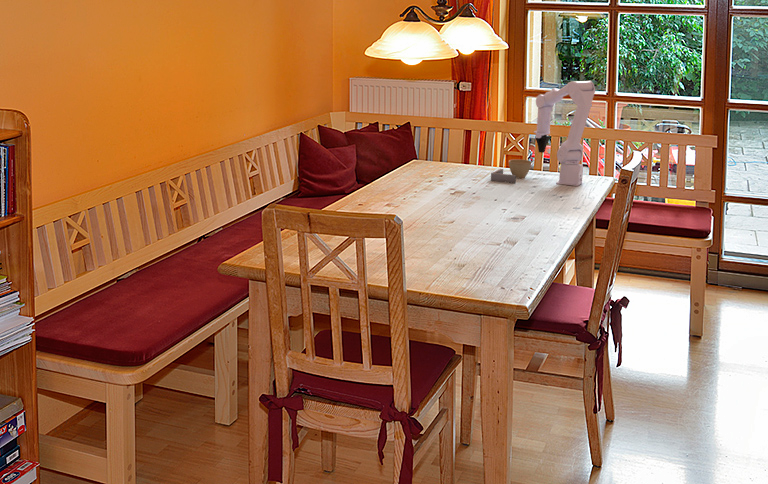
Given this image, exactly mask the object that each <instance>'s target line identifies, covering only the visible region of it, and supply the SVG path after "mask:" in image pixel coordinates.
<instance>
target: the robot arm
mask: <svg viewBox="0 0 768 484" xmlns="http://www.w3.org/2000/svg"><path fill="white" fill-rule="evenodd" d="M595 92H596V87H595V84H594V82H593V81H592V80H584V81H583V80H582V81H578V80H577V81H576V80H571V81H569V82H567V84H565V85H564V86H563V87H561V88H556V87H553V88H552V89H551V90H550V91H547V92H545V93H544V94H538V95H536V97H535V106H536V107H537V120H536V130H534V131H533V133H534V134H535V137H534V139H535V141H536V143H537V144H536V145H537V151H538V153H542V154H544V153H545V151H546V149H547V145H548V142H549V140H550V139H551V136H550V135H551V130H550V129H551V119H552V118H551V116H552V112H553V109H554V106H555V105H556V104H557V103H559V102H561V101H563V99H564V97H566V96H568V95H569V97H570V99H571V101H572V102H573V103H574V104H575V105H576V110H575V112H574V116H573V119H572V122H571V126H570V128H569V132H568V135H567V138H566V140H564V142H562V143H561V144H560V147H559V148H558V150H557V153H556V158H557V160H558V163H559V164H560V166H559V178H558V179H559V180H558V181H556V182H555V183H556V184H557V185H567V186H575V187H578V186H580V185H581V184H583V173H584V165H583V164H580V161H582V159H583V154H584V152H583V151H584V146H583V145H582V144H581V140H582V137H583V133H584V130H585V127H586V124H587V121H588V118H589V114H590V111H591V108H592V104H593V103H592V102H593V99H594V97H595V94H596V93H595Z"/></svg>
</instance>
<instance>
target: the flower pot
mask: <svg viewBox="0 0 768 484" xmlns="http://www.w3.org/2000/svg"><path fill="white" fill-rule="evenodd" d="M531 165H532V161H531V160H527V159H518V158H517V159H509V160H508V167H509V170H510V173H511V175H516V179H525V178H526V177H527V175H528V173H529V171H530V169H531Z"/></svg>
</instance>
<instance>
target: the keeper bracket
mask: <svg viewBox="0 0 768 484" xmlns="http://www.w3.org/2000/svg"><path fill="white" fill-rule="evenodd" d="M516 180H517V178H516V175H512V174H509V173H508V174H507V173H504V168H499V169H497V170H495V171H492V172H491V173H490V182H496V183H504V184H516V183H517V181H516Z"/></svg>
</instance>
